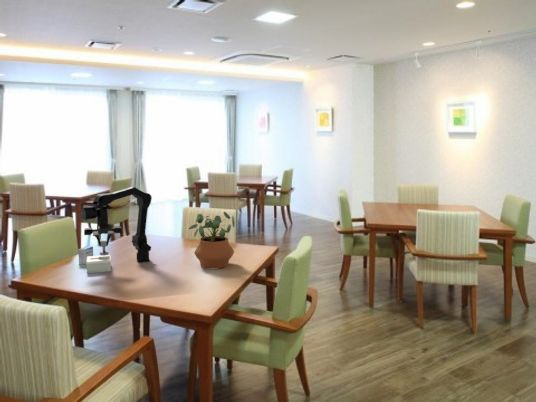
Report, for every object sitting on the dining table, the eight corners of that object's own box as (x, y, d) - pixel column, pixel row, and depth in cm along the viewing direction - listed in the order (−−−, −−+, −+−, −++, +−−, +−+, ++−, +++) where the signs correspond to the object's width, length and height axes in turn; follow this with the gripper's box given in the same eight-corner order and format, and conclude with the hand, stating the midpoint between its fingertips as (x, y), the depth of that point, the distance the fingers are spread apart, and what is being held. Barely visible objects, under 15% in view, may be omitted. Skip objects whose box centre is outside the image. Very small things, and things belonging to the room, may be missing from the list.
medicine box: (85, 264, 251) (85, 249, 249) (78, 264, 252) (77, 249, 250) (93, 261, 258) (93, 246, 257) (87, 260, 259) (86, 245, 258)
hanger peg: (108, 252, 246) (107, 238, 244) (108, 255, 240) (107, 240, 239) (99, 253, 244) (99, 239, 243) (99, 256, 239) (99, 241, 238)
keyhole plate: (110, 265, 250) (110, 254, 249) (111, 271, 239) (110, 260, 238) (87, 267, 246) (87, 256, 245) (86, 273, 235) (86, 262, 234)
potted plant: (215, 273, 236) (215, 217, 232) (177, 264, 252) (176, 212, 247) (242, 263, 255) (242, 211, 250) (205, 256, 270) (204, 207, 266)
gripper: (83, 221, 229) (84, 251, 231) (121, 219, 235) (122, 248, 237) (84, 217, 239) (85, 246, 241) (120, 215, 245) (121, 243, 248)
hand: (103, 246), depth 242 cm, fingers closed on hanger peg, 3 cm apart
